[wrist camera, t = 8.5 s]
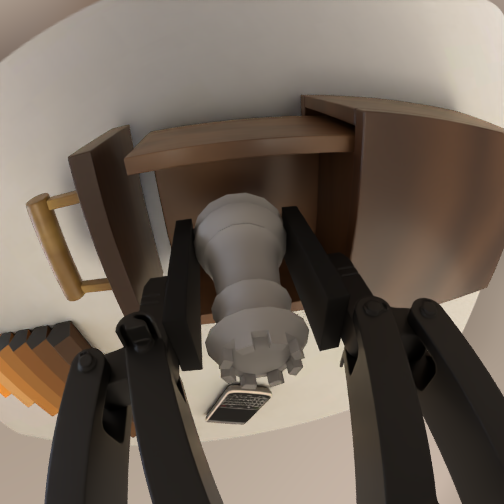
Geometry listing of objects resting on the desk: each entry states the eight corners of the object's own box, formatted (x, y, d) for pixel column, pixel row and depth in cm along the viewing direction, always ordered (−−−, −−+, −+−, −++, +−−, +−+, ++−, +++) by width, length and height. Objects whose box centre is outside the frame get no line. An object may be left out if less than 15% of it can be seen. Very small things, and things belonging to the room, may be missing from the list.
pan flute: (171, 423, 39) (75, 319, 25) (171, 441, 36) (66, 345, 22) (58, 424, 39) (-34, 339, 25) (56, 438, 36) (-42, 356, 22)
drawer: (94, 280, 22) (70, 343, 16) (49, 147, 15) (-8, 184, 10) (318, 251, 23) (352, 311, 18) (324, 104, 17) (379, 122, 11)
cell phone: (273, 384, 35) (275, 393, 34) (241, 418, 40) (242, 426, 39) (228, 380, 33) (229, 389, 32) (203, 415, 38) (203, 423, 37)
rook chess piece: (288, 254, 16) (336, 382, 9) (209, 275, 16) (214, 410, 9) (273, 178, 13) (334, 296, 7) (180, 203, 13) (157, 340, 7)
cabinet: (299, 253, 24) (336, 331, 17) (300, 94, 17) (364, 110, 10) (434, 234, 25) (487, 287, 18) (456, 111, 18) (532, 141, 11)
